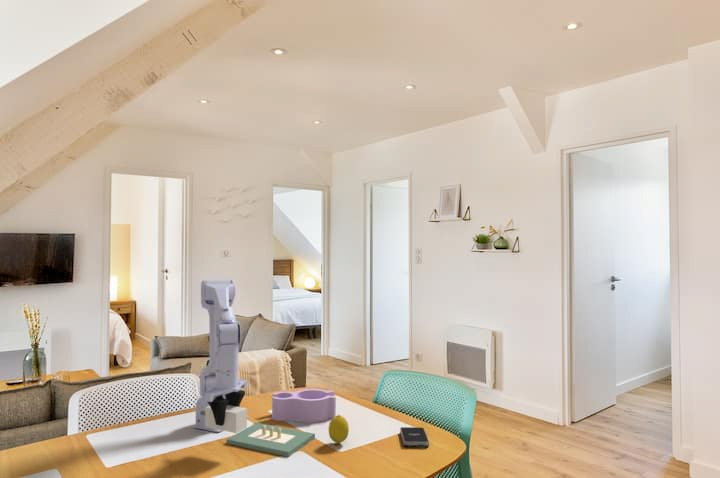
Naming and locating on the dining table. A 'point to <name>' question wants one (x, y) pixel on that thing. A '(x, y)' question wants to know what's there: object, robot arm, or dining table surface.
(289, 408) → the purple lobed piece
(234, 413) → the plug housing
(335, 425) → the lemon
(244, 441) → the board
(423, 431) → the external hard drive
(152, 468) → the dining table surface
